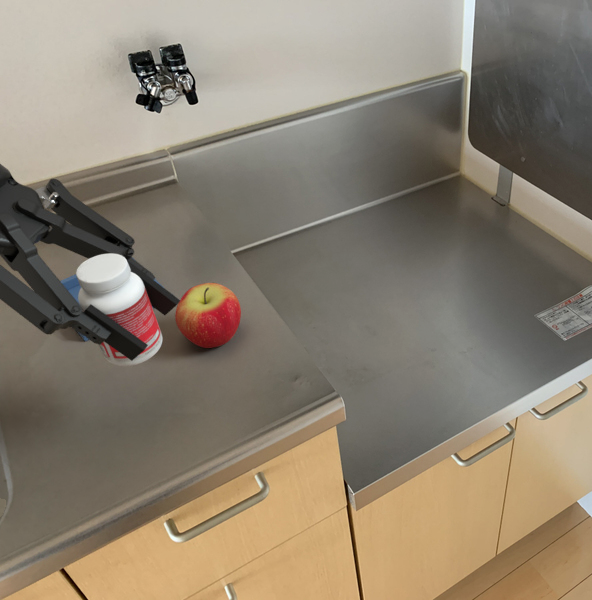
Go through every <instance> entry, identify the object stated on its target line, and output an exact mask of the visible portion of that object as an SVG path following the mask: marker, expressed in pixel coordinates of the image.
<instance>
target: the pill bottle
mask: <svg viewBox="0 0 592 600" xmlns="http://www.w3.org/2000/svg"><path fill="white" fill-rule="evenodd" d="M75 274H76V276H77V278H78V281H79V284H80V286H81V289H80V291H79V295H78V300H79V303H80V306H81V307H82V310H83V312H84V311H85V310H86V309H87V308H88V306H89V305H90V304H91V305H93V306H94V307H96V308H97V309H98V310H100V311H101V312H103V313H104V314H105V315H107V316H108V317H110V318H111V319H112V320H114V321H115V322H117V323H118V324H119V325H121V326H122V327H123V328H125V329H126V330H128V331H129V332H130V333H132V334H133V335H135V336H136V337H137V338H139V339H140V340H142V341H143V342H144V343H146V344H147V345H148V346H147V347H146V349H145V350H144V351H143V352H142V353H141V354H139V355H138V356H137V357H136V358H135V359H134V360H132V361H131V360H130V359H128V358H127V357H126V356H124V355H123V354H121V353H120V352H118V351H117V350H116V349H114V348H113V347H111V346H110V345H108V344H107V343H105V342H103V343H102V344H101V345H99V344H97V346H98V347H99V349H100V352H101V353H102V355H103V357H104V359H105V360H106V361H107V362H109V363H110V364H111V365H115V366H118V367H119V366H120V367H131V366H136V365H140V364H142V363H144V362H146V361H149V360H150V359H151V358H153V357H154V356H155V355H156V354H157V353H158V351H159V350H160V348H161V347H162V346H163V345H162V344H163V334H162V331H161V328H160V325H159V323H158V319H157V317H156V314H155V312H154V308H152V306H151V303H150V300H149V297H148V295H147V292H146V289H145V286H144V284H143V281H142V280H141V278H140V277H139V276H138V275H136V274H135V273H133V272H131V269H130V267H129V264H128V262H127V260H126V259H125V257H123V256H122V255H119V254H112V253H109V254H101V255H97V256H94V257H92V258H90V259H88V258H87V259H86V260H84V261H83V262H81V263H80V265H78V267H77V269H76V271H75Z"/></svg>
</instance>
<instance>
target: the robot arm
mask: <svg viewBox="0 0 592 600" xmlns="http://www.w3.org/2000/svg"><path fill="white" fill-rule="evenodd" d="M50 209H51V211H50ZM39 242H41V243H44V244H47V245H56V246H58V247H60V248H62V249H65V250H68V251H70V252H72V253H74V254H76V255H79V256H81V257H84V258H86V259H87V260H88V259H90V258H92V257H94V256H97V255H101V254H109V253H112V254H119V255H122V256H123V257H125V259H126V260H127V262H128V264H129V267H130V269H131V272H133V273H135V274H136V275H138V276H139V277H140V278H141V280H142V281H143V284H144V286H145V289H146V292H147V295H148V297H149V300H150V303H151V306H153V307H154V308H153V309H155V310H156V311H158V312H159V313H160V314H162V315H163V316H166V315H168V314H169V313H170V312H171V311H172V310H173V309H174V308H175V307H177V306H178V303H179V301H180V300H181V299H180V298H178V297H177V296H175V294H173V293H171V292H170V291H168V289H166V288H165V287H164V286H163V285H162V284H161V285H162V286H163V287H164V288H163V287H162V286H161V285H159V284H158V283H157V282H155V281H154V279H156V276H155V275H154V273H152V272H151V271H150V270H149V269H148V268H146V267H145V266H144V265H143V264H141V263H140V262H138V261H137V259H135V258H134V257H133V256H134V254H135V250H134V248H133V246H134V245H135V239H134V238H133V236H131V235H130V234H128V233H126V231H124V230H123V229H121V228H120V227H118V226H117V225H115V223H113V222H111V221H110V220H108V219H106V218H105V217H104V216H103V215H101V214H100V213H99V212H97V211H95V210H94V209H92V208H91V207H90V206H88V205H87V204H86V203H84V202H83V201H81V200H80V199H78V198H77V197H75V196H74V195H73V194H72V193H71V192H70V191H69V190H68V189H67V188H66V186H65V185H64V184H63V183H62V181H60V180H59V179H57V178H51V179H49V181H48V182H47V184H46V185H44V186H41V187H38V188H35V189H34V188H32V187H30V186H27V185H25V184H21V183H20V182H18V181H17V180H16V179H15V178H14V177H13V175H12V173H11V172H10V170H9V169H8V168H7V167H5V166H4V165H3V164H1V163H0V257H1V258H2V260H4V262H5V263H6V264H7V265H8V266H9V268H10V269H11V270H12V271H14V272H17V273H18V274H19V275H20V276H21V277H22V279H23V280H24V281H25V282H26V283H27V284H25V283H24V282H23V281H22V280H21V279H19V278H18V277H17V276H16V275H14V274H13V273H12V272H10V271H9V270H8V269H7V268H6V267H4V266H3V265H2V264H0V301H1V302H3V303H4V304H5V305H7V306H8V307H10V308H11V309H12V310H13V311H15V312H16V313H17V314H19V315H20V316H21V317H23V318H24V319H25V320H27V322H29V323H30V324H32V325H33V326H34V327H36V328H37V329H38V330H39V331H40V332H42V333H43V334H45V335H52V334H54V333H55V332H56V331H59V330H60V329H61V330H66V329H68V328H72V329H73V330H75V331H76V332H77V331H78V332H79V333H81V334H82V335H84V336H85V337H86V338H88V339H89V341H91V342H92V343H94V344H97V345H98V344H99V345H101V344H102V343H103V342H105V343H107V344H108V345H110V346H111V347H113V348H114V349H116V350H117V351H118V352H120V353H121V354H123V355H124V356H126V357H127V358H128V359H130V360H131V361H132V360H134V359H135V358H136V357H137V356H138V355H139V354H141V353H142V352H143V351H144V350H145V349H146V347H147V346H148V345H147V344H146V343H144V342H143V341H142V340H140V339H139V338H137V337H136V336H135V335H133V334H132V333H130V332H129V331H128V330H126V329H125V328H123V327H122V326H121V325H119V324H118V323H117V322H115V321H114V320H112V319H111V318H110V317H108V316H107V315H105V314H104V313H103V312H101V311H100V310H98V309H97V308H96V307H94V306H93V305H91V304H90V305H89V306H88V308H87V309H86V310H85V311H84V312H83V310H82V307H81V306H80V305H79V303H78V302H77V301H76V300H75V298H74V297H73V296H72V295H71V294H70V292H69V291H68V290H67V289H66V288H65V286H64V285H63V284H62V283H61V282H60V281H61V279H59V278H58V277H57V275H56V274H55V273H54V272H53V270H51V268H50V267H49V265H48V264H47V263H46V262H45V261H44V259H43V258H42V257H41V256H40V255H39V252H38V251H39V250H38V248H37V246H36V244H37V243H39ZM132 257H133V258H134V259H135V260H134V259H133V258H132ZM78 332H77V333H78ZM79 333H78V334H79ZM99 345H98V346H99Z"/></svg>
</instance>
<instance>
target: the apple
mask: <svg viewBox="0 0 592 600" xmlns="http://www.w3.org/2000/svg"><path fill="white" fill-rule="evenodd" d="M179 300H180V301H179V303H178V304H177V305H176V309H175V314H174V318H175V324H176V326H177V328H178V330H179V331H180V333H181V334H182V336H184V337H185V338H186V339H187V340H188V341H189V342H191V343H193V344H194V345H196V346H197V347H201V348H204V349H205V348H206V349H211V348H217V347H220V346H223V345H225V344H227V343H229V342H230V341H231V339H232V338H233V337H235V334H236V333H237V331H238V330H239V329H238V328H239V326H240V323H241V319H242V309H241V304H240V300H239V299H238V296H236V293H234V292H233V291H232V290H231V289H230V288H228V287H227V286H226V285H223V284H220V283H217V282H204V283H200V284H197V285H194V286H192V287H190V288H189V289H188V290H187V291H185V292H184V294H183V295H182V296H181V298H180V299H179Z"/></svg>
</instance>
